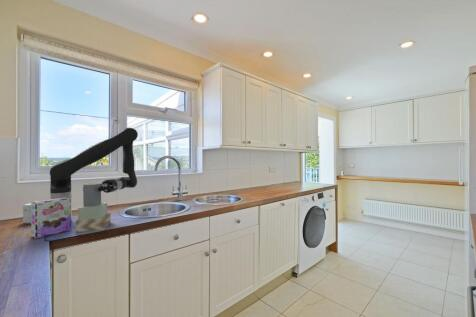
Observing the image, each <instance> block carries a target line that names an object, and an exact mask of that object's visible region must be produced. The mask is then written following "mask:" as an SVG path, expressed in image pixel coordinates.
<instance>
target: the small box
mask: <svg viewBox="0 0 476 317" xmlns="http://www.w3.org/2000/svg"><path fill="white" fill-rule="evenodd" d="M22 218H23V219H22V220H23V221H22V222H23V224H31V202H30V203H26V204H23V205H22Z"/></svg>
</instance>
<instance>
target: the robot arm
mask: <svg viewBox="0 0 476 317" xmlns="http://www.w3.org/2000/svg"><path fill="white" fill-rule="evenodd" d="M138 135H139V133H138V130H136V129H135V128H133V127H126V128H123V129H122V130H121V131H120V132H119V133H118V134H116V135H114V136H112V137H110V138H107V139H104V140H102V141H98V142H97V143H94V144H93V145H91V146H89V147H88V148H85V149H84V150H82V151H81V152H80V153H78V154H77V155H76V156H74V157H72V158H70V159H68V160H66V161H62V162H60V163H57V164H54V165H53V166H52V167H50V169H49V177H50V188H49V190H50V191H49V194H50V199H57V198H64V197H66V198H70V204H71V205H72V176H73V174H75V173H77V172H78V171H80V170H81V169H83V168H86V167H87V166H90V165H92V164H94V163H96V162H98V161H100V160H102V159H103V158H105V157H107V156H109V155H110V154H112V153H113V152H116V150H118V149H119V148H121V147H122V173H123V174H125V175H128V176H121V177H119V178H111V179H105V180H103V181H102V182H101V183H100V184H101V187H99V188H98V191H101V192H103V193H104V194H105V193H106V194H109V193H113V192H117V191H119V190H123V189H125V188H129V189H130V188H131V189H132V188H135V187H136V186H137V185H138V178H137V176H136V172H135V156H134V151H133V150H134V149H133V148H134V141H136V140H137V138H138ZM72 211H73V210H72V207H71V222H72V221H73V217H72V216H73V215H72Z"/></svg>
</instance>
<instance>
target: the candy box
mask: <svg viewBox="0 0 476 317" xmlns="http://www.w3.org/2000/svg"><path fill="white" fill-rule="evenodd" d="M30 203H31V223H30V225H31V226H30V229H31V231H30V236H31V237H32V238H34V239H35V240H36V239H40V238H44V237H49V236H54V235H58V234H62V233H65V232H69V231H72V225H71V224H72V221H71V208H72V203H71V204H70V198H66V197H64V198H57V199H43V200H35V201H31V202H30Z"/></svg>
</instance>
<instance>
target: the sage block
mask: <svg viewBox="0 0 476 317" xmlns="http://www.w3.org/2000/svg"><path fill="white" fill-rule="evenodd" d="M107 213H108V202H101V204H100V205H97V206H84V204H83V205H81V206H79V207H77V219H78V220H85V219H99V218H102V217H103V216H105V215H106V214H107Z"/></svg>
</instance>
